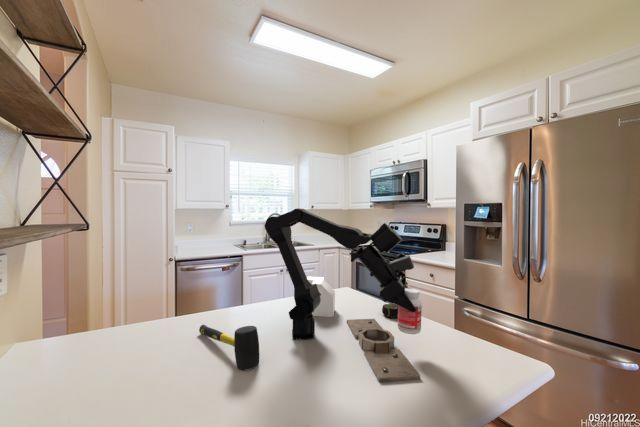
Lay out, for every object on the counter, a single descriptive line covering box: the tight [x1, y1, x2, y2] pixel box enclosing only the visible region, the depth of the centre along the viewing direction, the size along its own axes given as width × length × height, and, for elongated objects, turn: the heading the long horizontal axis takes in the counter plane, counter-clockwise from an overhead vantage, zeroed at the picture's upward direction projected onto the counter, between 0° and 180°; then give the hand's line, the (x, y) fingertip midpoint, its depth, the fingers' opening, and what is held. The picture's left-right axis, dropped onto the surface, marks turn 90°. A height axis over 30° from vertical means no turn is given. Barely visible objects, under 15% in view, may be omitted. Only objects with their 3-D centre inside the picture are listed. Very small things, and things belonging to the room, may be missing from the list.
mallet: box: [198, 324, 260, 371], centre depth 77 cm, size 29×6×10 cm, turn 47°
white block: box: [307, 276, 336, 318], centre depth 107 cm, size 11×11×12 cm
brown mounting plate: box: [346, 318, 421, 383], centre depth 80 cm, size 34×10×3 cm, turn 7°
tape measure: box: [381, 302, 398, 318], centre depth 103 cm, size 7×7×4 cm
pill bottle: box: [397, 287, 423, 335], centre depth 75 cm, size 6×6×11 cm
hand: (414, 307), depth 75 cm, fingers closed on pill bottle, 6 cm apart
